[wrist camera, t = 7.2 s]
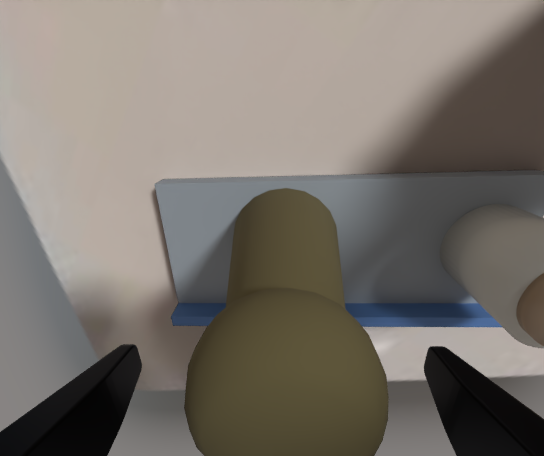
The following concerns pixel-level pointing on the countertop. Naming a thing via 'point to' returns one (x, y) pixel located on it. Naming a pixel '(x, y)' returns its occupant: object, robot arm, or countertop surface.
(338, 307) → the olive waisted cylinder
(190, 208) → the shelf
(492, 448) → the robot arm
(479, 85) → the countertop surface
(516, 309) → the ceramic jar
